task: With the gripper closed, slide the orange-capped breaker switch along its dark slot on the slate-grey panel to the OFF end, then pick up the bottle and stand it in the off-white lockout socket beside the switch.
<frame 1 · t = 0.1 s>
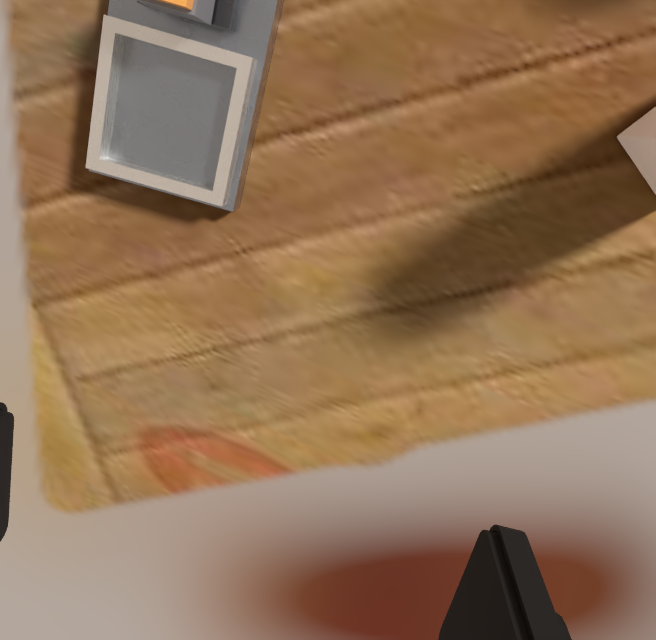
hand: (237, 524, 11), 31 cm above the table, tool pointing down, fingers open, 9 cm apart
panel: (195, 44, 37), on the table
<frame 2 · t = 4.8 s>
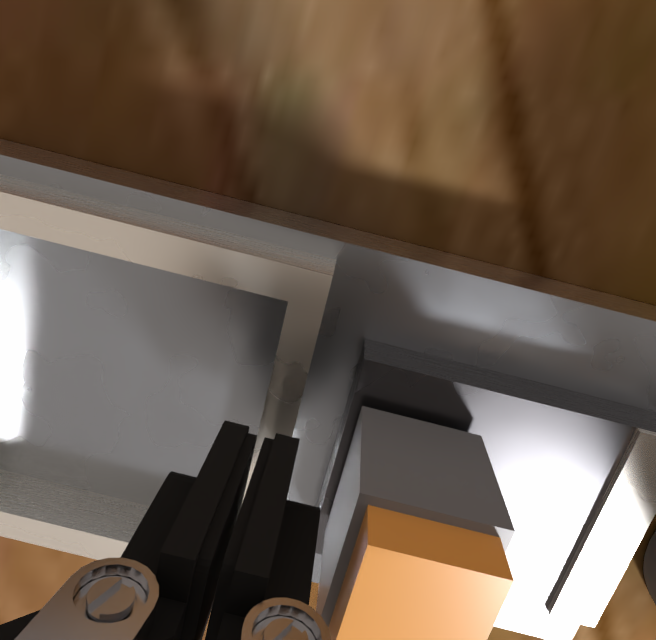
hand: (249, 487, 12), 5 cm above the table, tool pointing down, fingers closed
toggle: (404, 547, 12), point 6 cm above the table, slide at 0.3 cm, touching gripper
panel: (301, 389, 17), on the table
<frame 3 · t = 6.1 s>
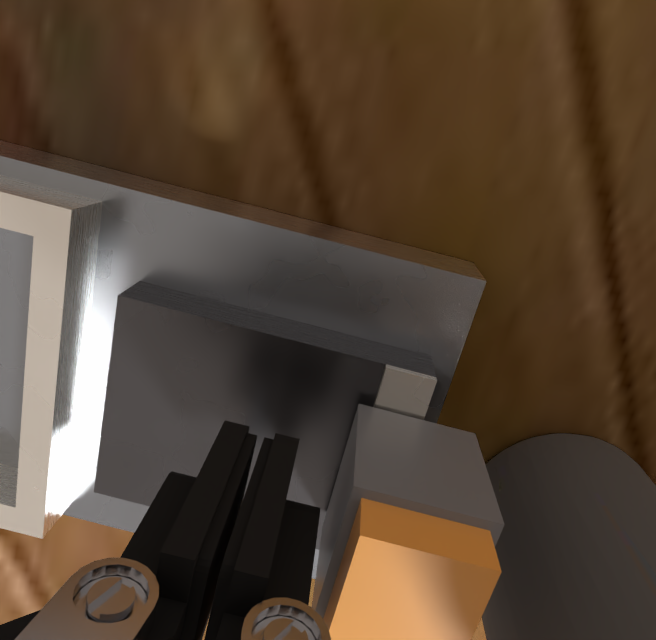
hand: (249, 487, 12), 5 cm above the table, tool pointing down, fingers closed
bottle: (553, 508, 18), on the table
toggle: (398, 541, 12), point 6 cm above the table, slide at 6.1 cm, touching gripper
panel: (115, 340, 17), on the table
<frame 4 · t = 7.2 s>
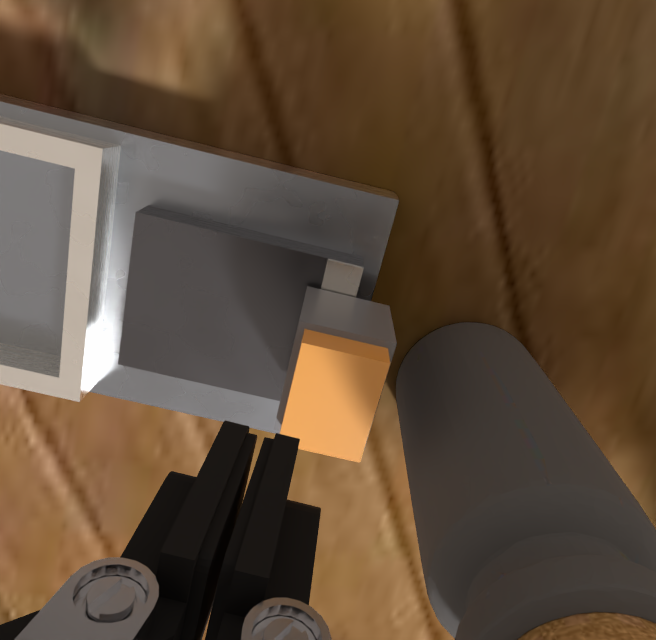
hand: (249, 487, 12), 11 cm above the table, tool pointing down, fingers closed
bottle: (463, 383, 24), on the table
toggle: (334, 371, 18), point 6 cm above the table, slide at 6.0 cm
panel: (126, 259, 22), on the table
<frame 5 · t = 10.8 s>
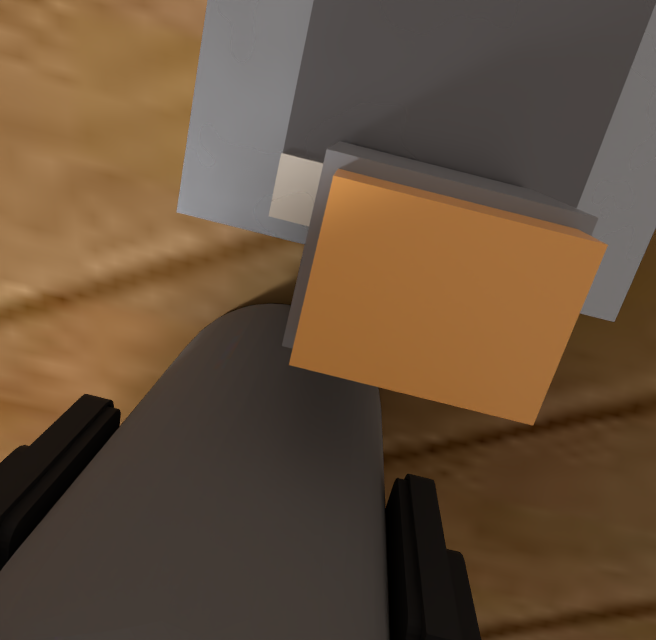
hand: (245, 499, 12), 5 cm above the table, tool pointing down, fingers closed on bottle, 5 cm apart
bottle: (278, 395, 16), on the table, touching gripper
toggle: (423, 266, 9), point 6 cm above the table, slide at 6.0 cm
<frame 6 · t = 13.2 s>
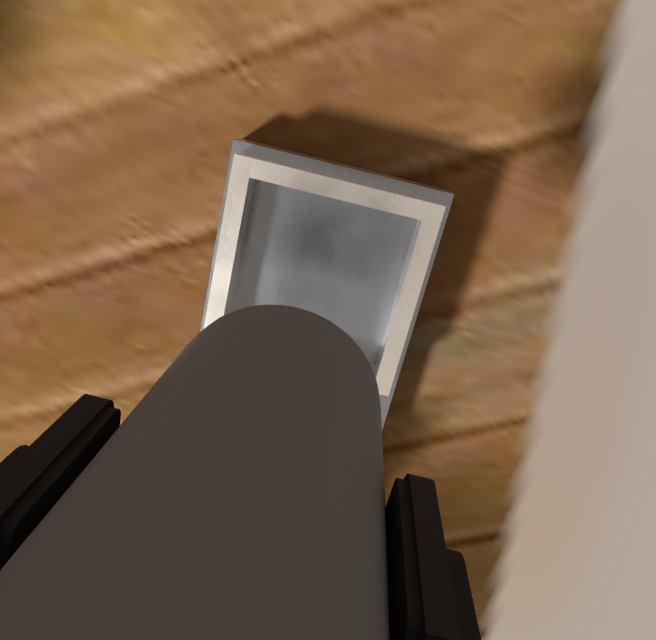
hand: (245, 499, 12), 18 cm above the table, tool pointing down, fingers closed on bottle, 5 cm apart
bottle: (278, 397, 16), point 13 cm above the table, touching gripper
panel: (302, 345, 30), on the table
when the fingers open (7 cm above the table, at t = 15.6 s): bottle stays where it is, resting on panel.
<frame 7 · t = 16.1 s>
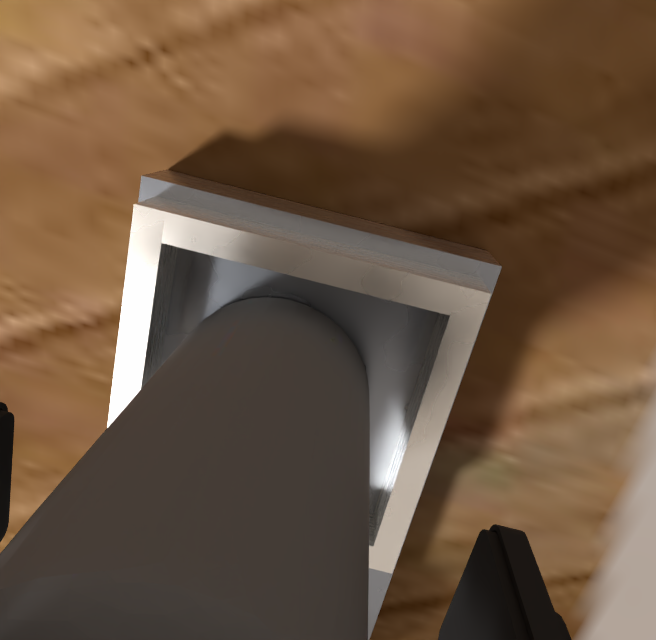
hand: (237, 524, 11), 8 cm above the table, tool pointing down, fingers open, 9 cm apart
bottle: (273, 384, 17), point 2 cm above the table, touching panel
panel: (266, 469, 20), on the table
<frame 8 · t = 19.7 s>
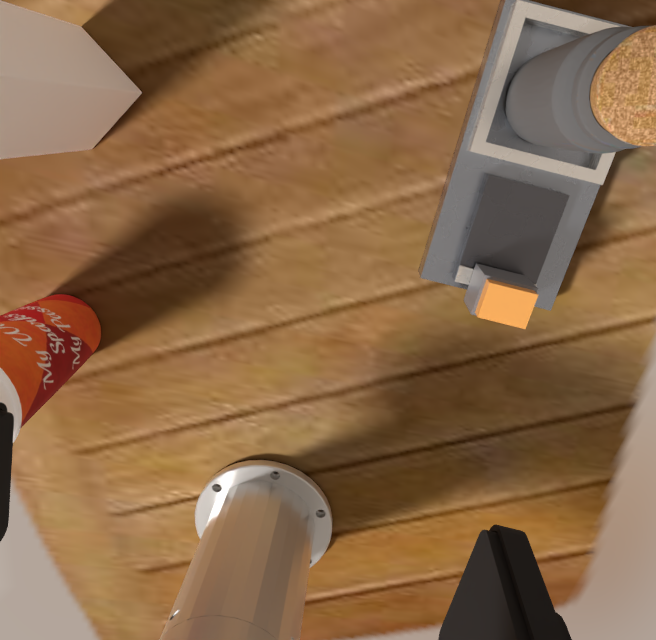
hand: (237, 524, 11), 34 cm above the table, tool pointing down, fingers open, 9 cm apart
milk: (88, 90, 42), on the table
bottle: (548, 99, 38), point 2 cm above the table, touching panel
toggle: (500, 296, 39), point 6 cm above the table, slide at 6.0 cm
panel: (523, 163, 41), on the table
coffee cup: (67, 326, 48), on the table
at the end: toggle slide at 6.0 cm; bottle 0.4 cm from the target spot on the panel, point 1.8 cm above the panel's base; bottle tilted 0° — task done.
